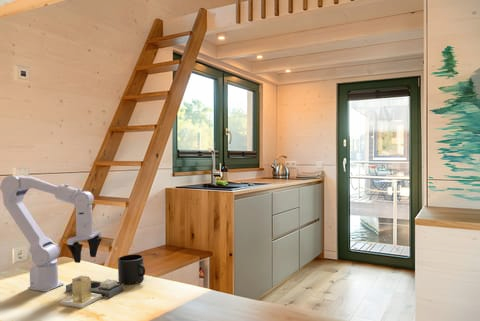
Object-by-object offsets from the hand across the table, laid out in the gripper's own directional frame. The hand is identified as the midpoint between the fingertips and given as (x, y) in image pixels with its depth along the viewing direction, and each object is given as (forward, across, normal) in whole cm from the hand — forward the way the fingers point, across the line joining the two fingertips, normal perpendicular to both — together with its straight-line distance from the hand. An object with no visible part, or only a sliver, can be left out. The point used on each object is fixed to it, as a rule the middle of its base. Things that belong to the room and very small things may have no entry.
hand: (85, 259), depth 137 cm
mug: (+10, +10, -14) cm, 20 cm away
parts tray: (+10, -12, -10) cm, 18 cm away
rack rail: (+10, -3, -7) cm, 12 cm away
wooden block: (+10, -12, -10) cm, 18 cm away
